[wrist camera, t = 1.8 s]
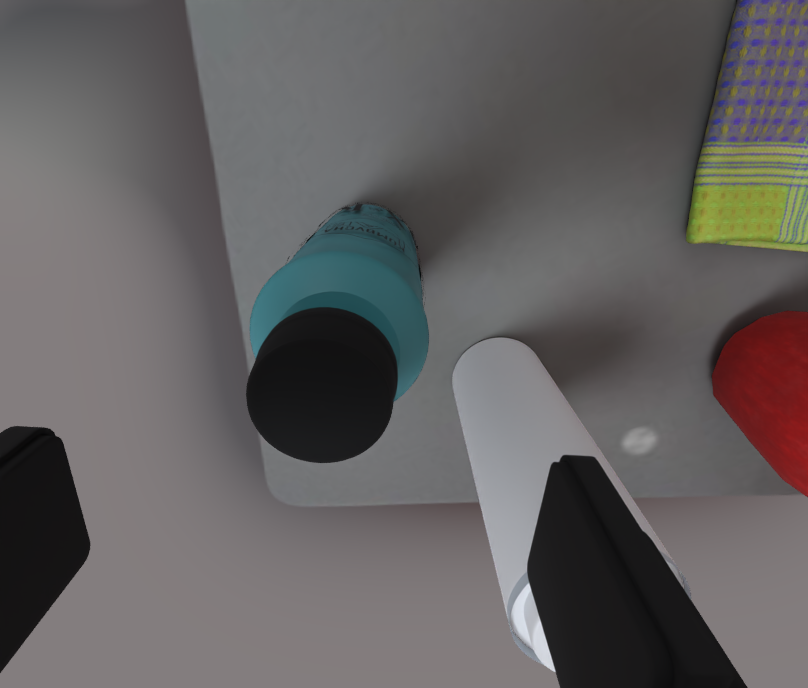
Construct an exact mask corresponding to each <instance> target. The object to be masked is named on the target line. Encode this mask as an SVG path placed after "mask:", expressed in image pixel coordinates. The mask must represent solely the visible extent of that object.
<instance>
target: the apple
mask: <svg viewBox="0 0 808 688" xmlns="http://www.w3.org/2000/svg"><path fill="white" fill-rule="evenodd" d="M712 385H713V395H714V397H715V398H716V399H717V400H718V402H719V403H720V404H721V406H722V407H723V408H724V409H725V411H726V412H727V413H728V414H729V416H730V417H731V418H732V419H733V421H734V422H735V423H736V424H737V426H738V427H739V428H740V429H741V431H742V432H743V433H744V435H745V436H746V437H747V438H748V440H749V441H750V442H751V443H752V444H753V446H754V447H755V448H756V449H757V450H758V451H759V453H760V454H761V455H762V456H763V457H764V458H765V460H766V461H767V462H768V463H769V464H770V465H771V467H772V468H773V469H774V470H775V471H776V472H777V474H778V475H779V476H780V477H781V478H782V479H783V480H784V481H785V482H787V483H788V484H790V485H791V486H792V487H794V488H795V489H797V490H798V491H800V492H801V493H802V494H804V495H805V496H807V497H808V312H800V311H784V312H780V313H776V314H772V315H769V316H765V317H761V318H759V319H758V320H756V321H755V322H753V323H751V324H750V325H748V326H747V327H745V328H743V329H741V330H740V331H738V332H736V333H734V335H733V336H732V337H731V338H730V339H729V340H728V342H727V343H726V344H725V345H724V347H723V349H722V352H721V354H720V356H719V359H718V361H717V364H716V366H715V369H714V371H713V374H712Z"/></svg>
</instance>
